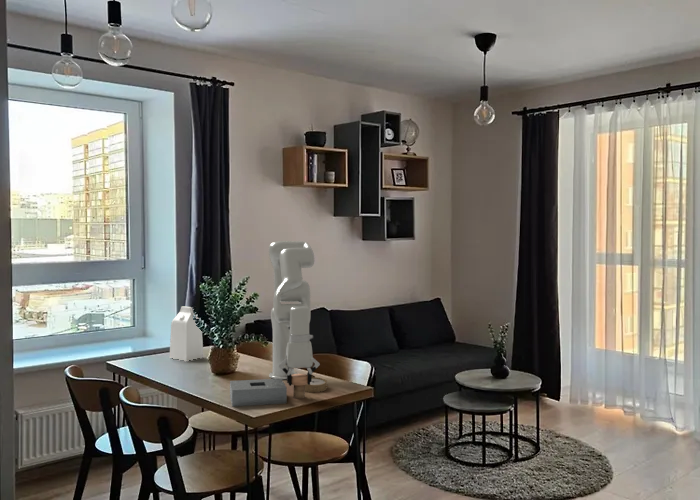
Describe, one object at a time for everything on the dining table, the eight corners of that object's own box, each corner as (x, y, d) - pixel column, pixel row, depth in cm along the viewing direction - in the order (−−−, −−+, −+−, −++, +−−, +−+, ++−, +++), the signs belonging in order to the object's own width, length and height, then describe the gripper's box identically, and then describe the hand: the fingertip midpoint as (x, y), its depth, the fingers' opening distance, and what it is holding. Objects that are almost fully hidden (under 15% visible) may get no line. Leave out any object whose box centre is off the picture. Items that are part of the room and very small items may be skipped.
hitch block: (229, 396, 251) (229, 380, 251) (281, 393, 256) (281, 378, 256) (232, 406, 236) (232, 390, 236) (286, 403, 241) (286, 387, 241)
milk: (203, 357, 327) (203, 306, 326) (186, 361, 317) (186, 308, 316) (186, 355, 333) (186, 305, 332) (169, 358, 323) (169, 307, 323)
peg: (289, 395, 252) (289, 374, 252) (306, 394, 254) (306, 373, 254) (292, 400, 246) (292, 378, 246) (309, 399, 247) (309, 377, 247)
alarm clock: (311, 387, 256) (289, 373, 267) (309, 398, 256) (287, 385, 267) (332, 382, 263) (310, 370, 274) (331, 394, 264) (309, 381, 275)
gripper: (319, 336, 255) (319, 381, 255) (275, 337, 251) (275, 383, 251) (323, 339, 248) (323, 385, 248) (278, 340, 244) (278, 387, 244)
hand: (299, 384), depth 250 cm, fingers closed on peg, 6 cm apart
